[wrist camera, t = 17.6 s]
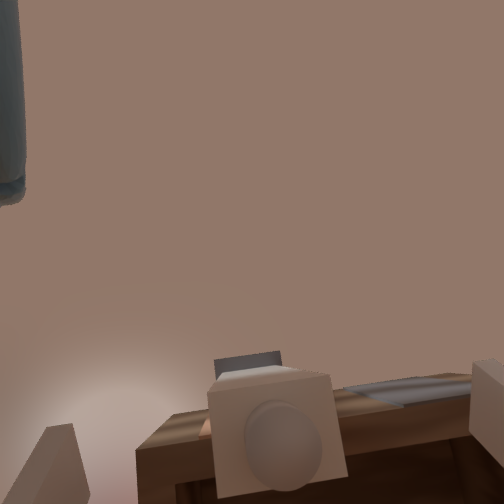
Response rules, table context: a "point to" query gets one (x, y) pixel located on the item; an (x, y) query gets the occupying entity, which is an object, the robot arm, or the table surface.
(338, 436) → the bar
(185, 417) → the walnut shelf
